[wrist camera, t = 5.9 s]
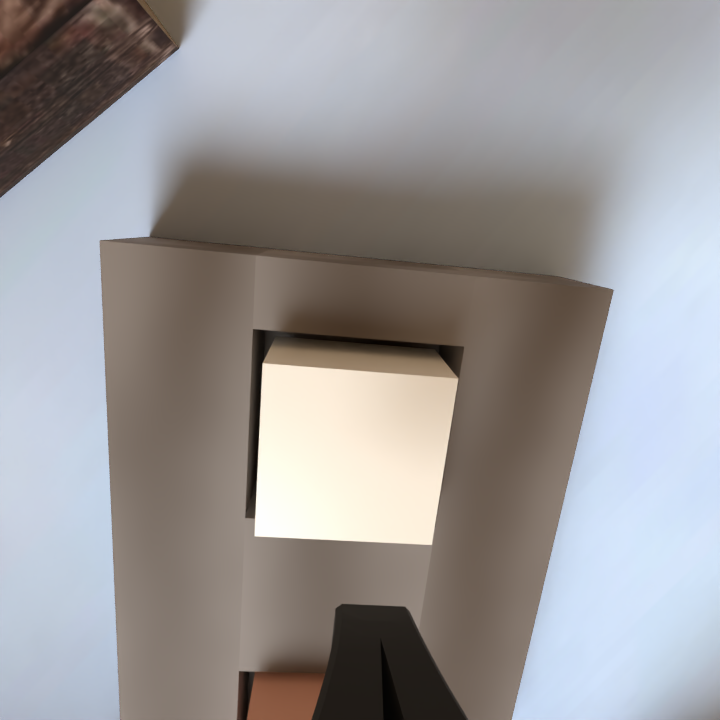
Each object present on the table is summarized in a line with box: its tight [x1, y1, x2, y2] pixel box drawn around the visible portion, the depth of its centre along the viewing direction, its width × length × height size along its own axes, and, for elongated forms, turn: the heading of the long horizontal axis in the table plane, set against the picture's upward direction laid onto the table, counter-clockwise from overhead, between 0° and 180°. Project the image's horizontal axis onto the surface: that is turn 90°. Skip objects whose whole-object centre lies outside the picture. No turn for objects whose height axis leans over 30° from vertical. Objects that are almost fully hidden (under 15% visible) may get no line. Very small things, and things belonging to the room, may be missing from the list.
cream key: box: [255, 336, 458, 545], centre depth 14 cm, size 5×5×3 cm
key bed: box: [100, 237, 613, 720], centre depth 18 cm, size 14×22×4 cm, turn 174°
